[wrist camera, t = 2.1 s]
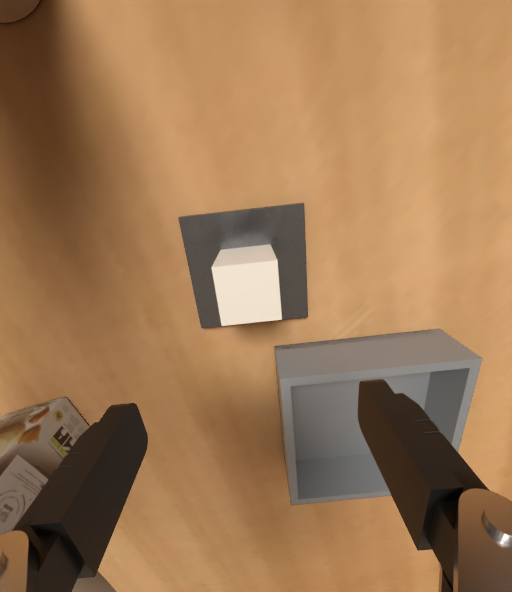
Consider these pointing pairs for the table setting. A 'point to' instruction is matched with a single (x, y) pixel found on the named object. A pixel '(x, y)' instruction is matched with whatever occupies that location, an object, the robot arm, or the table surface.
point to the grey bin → (344, 405)
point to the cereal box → (33, 453)
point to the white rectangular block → (247, 285)
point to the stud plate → (244, 233)
